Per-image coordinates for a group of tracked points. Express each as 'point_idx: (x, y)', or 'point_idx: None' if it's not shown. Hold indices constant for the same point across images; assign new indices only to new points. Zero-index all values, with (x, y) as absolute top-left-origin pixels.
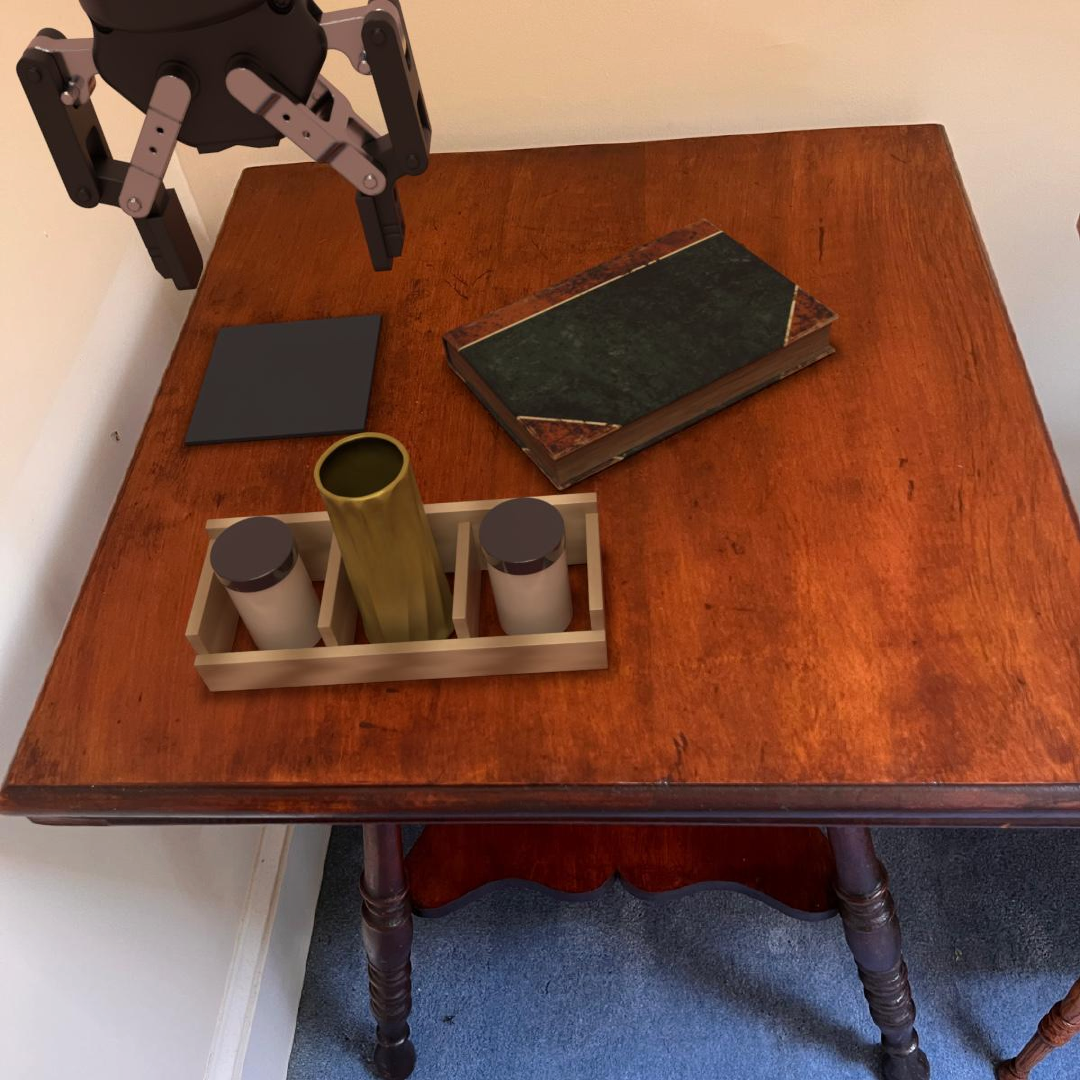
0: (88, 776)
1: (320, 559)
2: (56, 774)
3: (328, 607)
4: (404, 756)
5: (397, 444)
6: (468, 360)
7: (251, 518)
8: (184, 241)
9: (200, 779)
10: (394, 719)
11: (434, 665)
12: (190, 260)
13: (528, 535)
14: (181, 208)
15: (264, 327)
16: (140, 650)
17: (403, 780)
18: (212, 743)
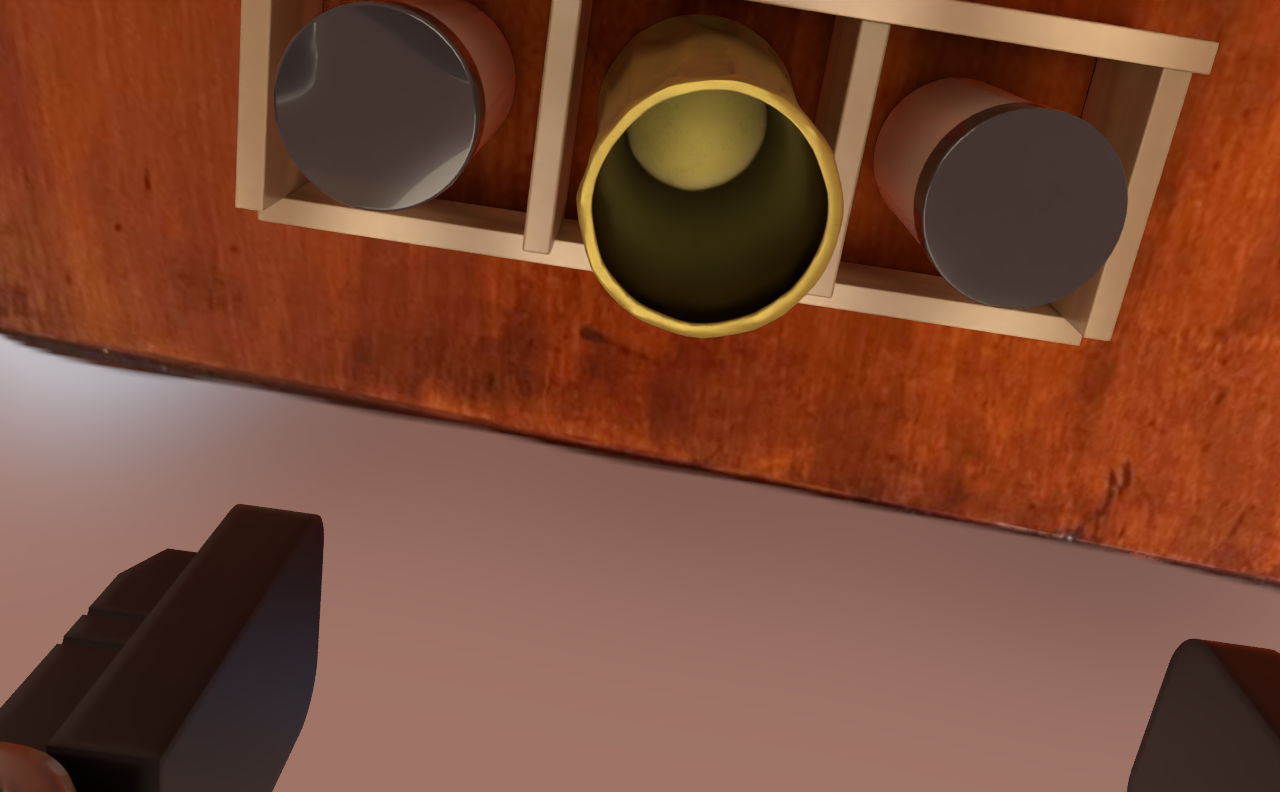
0: (91, 330)
1: None
2: (28, 314)
3: (546, 206)
4: (656, 409)
5: (818, 154)
6: None
7: (365, 6)
8: (254, 728)
9: (298, 377)
10: (644, 335)
11: None
12: (285, 686)
13: (1035, 236)
14: (211, 680)
15: None
16: (117, 59)
17: (651, 450)
18: (309, 312)
